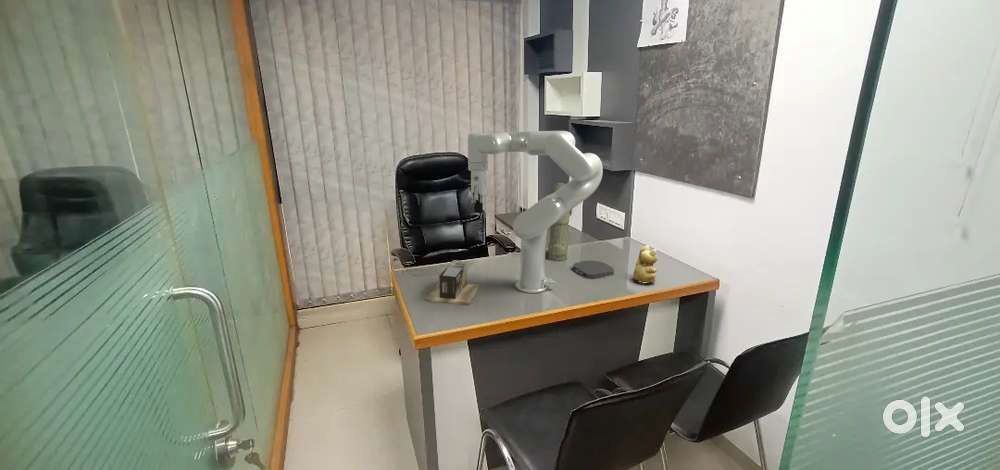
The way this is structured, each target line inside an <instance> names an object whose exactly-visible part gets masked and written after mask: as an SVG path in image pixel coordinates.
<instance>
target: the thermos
mask: <svg viewBox="0 0 1000 470" xmlns="http://www.w3.org/2000/svg"><path fill="white" fill-rule="evenodd" d="M567 183H568V182H567ZM567 183H566V182H556V183H554V186H553V188H552V192H551V194H552V193H554V192H556V191H557V190H559V189H560V188H562V187H563V186H565V185H566V184H567ZM572 215H573V209H571V210H570V211H569V212H567V213H566V214H565V215H564V216H563V217H562V218H561V219H560V220H559V221H557V222H556V223H554V224H553V225H552V226H550V227H549V242H548V243H547V245H548V246H547V247H548V248H547V253H548V254H547V259H548V258H549V261H550V260H551V261H552V260H553V262H564V260H565V261H566V260H567V258H568V257H567V256H568V250H569V249H568V247H569V245H568V230H569V229H568V227H569V223H570V218H571V216H572Z"/></svg>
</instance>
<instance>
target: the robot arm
mask: <svg viewBox="0 0 1000 470" xmlns="http://www.w3.org/2000/svg"><path fill="white" fill-rule="evenodd" d="M508 152H509V153H510V152H511V153H514V152H517V153H526V154H528V155H529V156H548V157H549V158H550V159H551V160H552V161H553V162H554V163H555V164H556V165H557V166H558V167H559V168H560V169H561V170H563V172H565V174H567V176H569V177H570V178H571V180H570V181H568V182H567V184H566V185H565V186H563V187H562V188H560V189H559V190H557V191H556V192H554V193H552V192H551V193H550V194H548V195H546V196H545V197H543V198H541V199H540V200H538V201H537V202H535V203H534V204H533V205H531V206H529V208H527V209H526V210H525V211H523V212H522V213H521V214H519V215H517V217H516V218H515V219H514V221H513V224H512V229H513V233H514V235H515V236H516V237H518V238H519V239H520V254H519V255H520V260H519V262H520V263H519V279H518V280H517V281H516V282H515V288H516V289H517V290H518V291H521V292H523V293H529V294H537V293H542V292H545V291H546V290H548V286H553V287H554V286H556V280H554V278H547V277H546V274H545V268H546V267H545V266H546V265H545V264H546V262H545V261H546V246H547V245H546V244H547V236H548V229H550V226H552V225H553V224H554V223H556V222H557V221H559V220H560V219H561V218H562V217H563V216H564V215H565V214H566V213H567V212H569V211H570V210H571V209H572V210H573V209H574V208H576V207H577V206H579V205H580V204H581V203H582V202H584V201H586V200H587V199H588V198H589V197H590V196H591V195H593V194H594V193H595V192H596V190H597V189H598V187H599V186H600V184H601V181H602V179H603V169H604V168H603V167H604V166H603V163H602V160H601V159H600V157H599V156H598V155H597V154H595V153H592V152H586V153H582V152H581V150H579V149H578V148H577V147H576V138H575V136H574V134H572V132H569V131H567V130H536V131H535V130H532V131H531V130H530V131H504V132H503V131H502V132H494V133H482V132H473V133H469V134H468V136H467V158H468V159H467V163H468V165H467V166H468V171H470V192H471V193H470V194H471V197H473V200H474V201H473V202H474V203H473V207H474V213H476V214H483V212H484V201H483V198H484V197H485V196H486V195H487V193H488V186H487V183H488V182H487V171H488V170H489V156H488V155H494V156H495V155H498V154H501V153H502V154H503V153H508Z"/></svg>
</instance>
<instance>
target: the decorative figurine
mask: <svg viewBox="0 0 1000 470" xmlns="http://www.w3.org/2000/svg"><path fill="white" fill-rule="evenodd" d="M657 252H658V250H657V248H654V249H651V250H650V246H649V245H647V244H646V245H645V246H643V247H641V248H640V251H639V254H638V257H637V260H636V263H635V268H634V270H633V278H634V280H635V281H637V280H638V281H641V282H652V283H655V281H656V278H657V274H656V272H657V271H658V269H657V268H656V267H654V264H655V263H656V262H657V261H658V255H657ZM638 281H637V282H638Z"/></svg>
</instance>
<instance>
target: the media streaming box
mask: <svg viewBox="0 0 1000 470" xmlns="http://www.w3.org/2000/svg"><path fill="white" fill-rule="evenodd" d="M573 270H574V271H573ZM572 271H573V272H575V273H576V272H577V273H576V274H578V275H579V276H581V275H582V277H583V276H584V277H583V278H585V277H586V278H585V279H588V278H589V280H597V279H596V278H598V279H602V278H601V277H604V278H606V277H605V276H609V275H612V276H614V275H615V274H614V272H615V270H614V267H612V266H611V265H609V264H607V263H605V262H604V261H603V262H602V261H598V260H582V261H579V262H575V263H573V265H572ZM609 277H610V276H609Z"/></svg>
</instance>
